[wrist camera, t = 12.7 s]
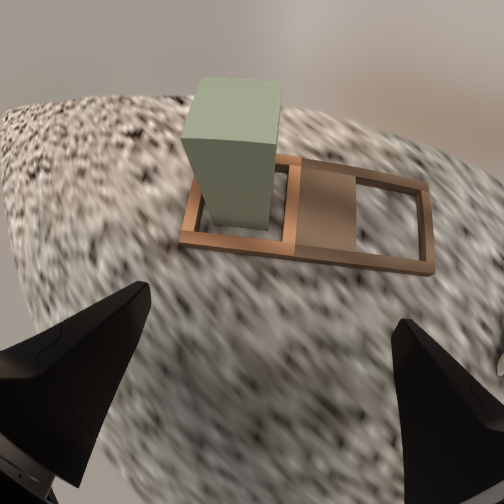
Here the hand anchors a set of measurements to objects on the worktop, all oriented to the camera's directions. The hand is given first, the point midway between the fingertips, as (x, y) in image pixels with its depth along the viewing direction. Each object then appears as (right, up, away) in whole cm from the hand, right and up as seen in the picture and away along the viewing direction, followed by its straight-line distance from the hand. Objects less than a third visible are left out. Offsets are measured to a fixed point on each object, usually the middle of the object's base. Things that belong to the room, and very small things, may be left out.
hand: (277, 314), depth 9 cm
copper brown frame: (+5, +6, +15) cm, 17 cm away
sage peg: (-2, +6, +15) cm, 17 cm away
